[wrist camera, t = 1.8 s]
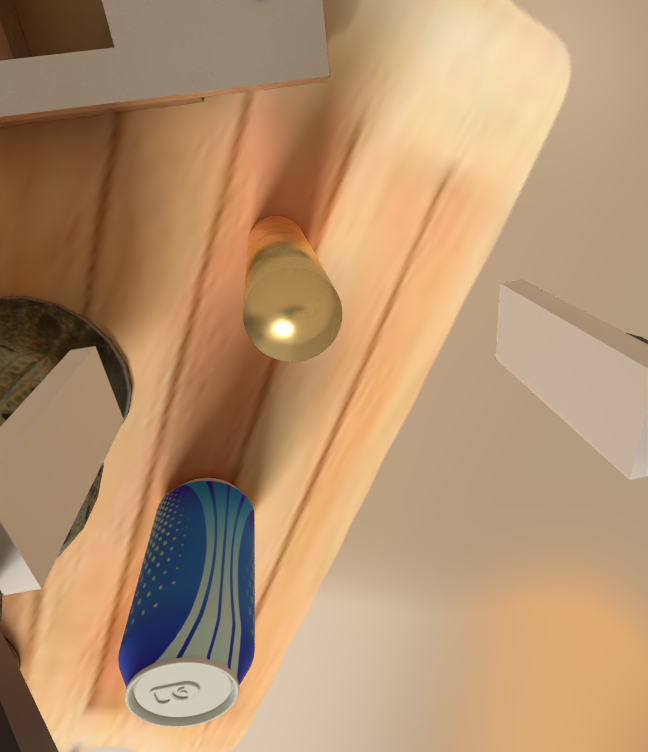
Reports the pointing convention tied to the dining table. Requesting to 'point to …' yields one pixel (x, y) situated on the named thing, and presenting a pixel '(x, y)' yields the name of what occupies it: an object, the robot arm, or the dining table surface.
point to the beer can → (192, 607)
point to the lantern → (51, 365)
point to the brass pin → (288, 293)
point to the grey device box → (164, 57)
